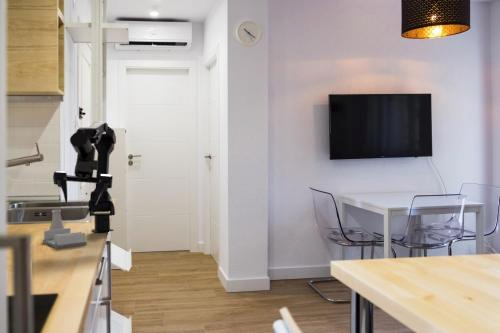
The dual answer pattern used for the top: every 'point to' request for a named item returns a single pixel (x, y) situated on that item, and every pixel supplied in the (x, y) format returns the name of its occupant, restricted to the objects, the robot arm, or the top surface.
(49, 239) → the grey stepped block
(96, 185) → the robot arm
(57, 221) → the flask
